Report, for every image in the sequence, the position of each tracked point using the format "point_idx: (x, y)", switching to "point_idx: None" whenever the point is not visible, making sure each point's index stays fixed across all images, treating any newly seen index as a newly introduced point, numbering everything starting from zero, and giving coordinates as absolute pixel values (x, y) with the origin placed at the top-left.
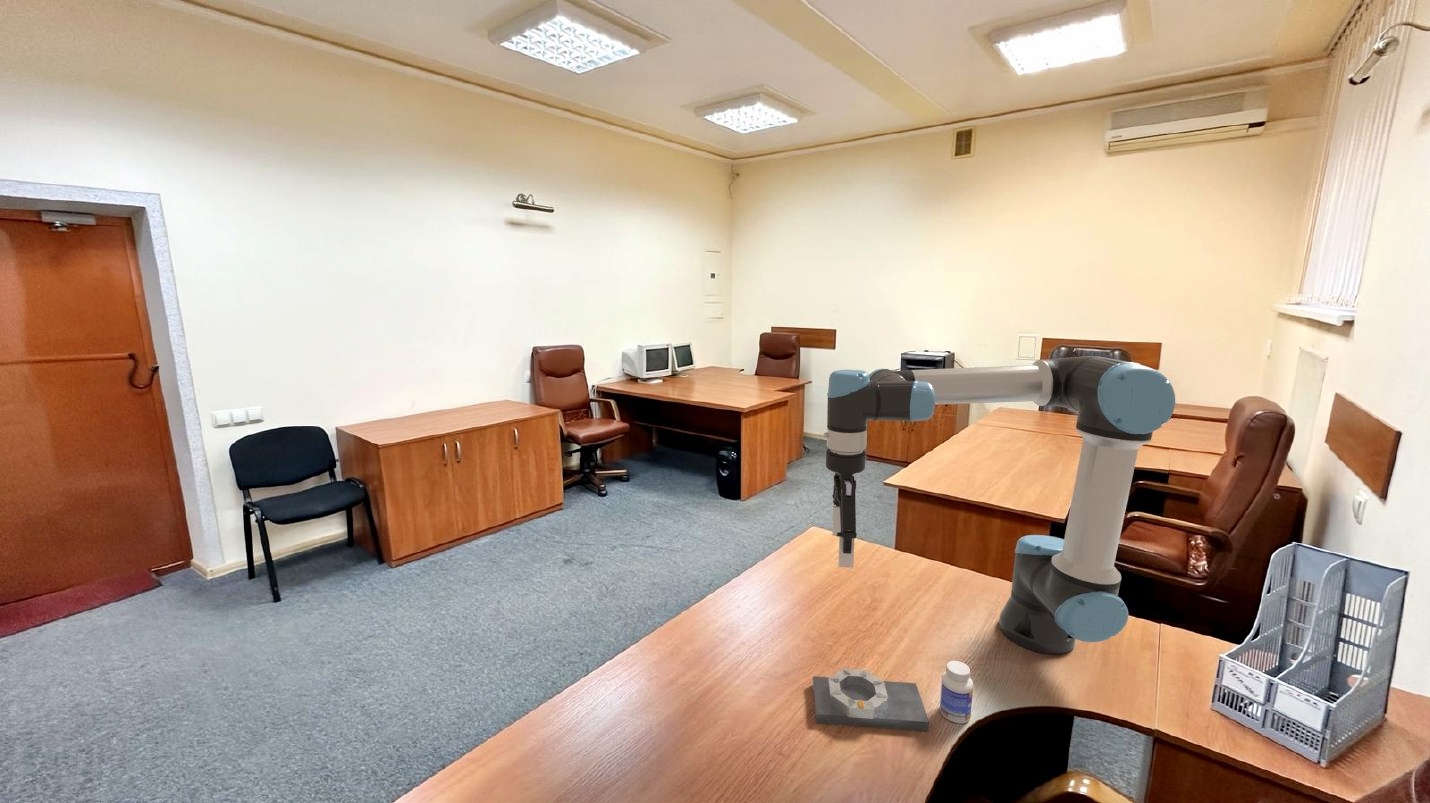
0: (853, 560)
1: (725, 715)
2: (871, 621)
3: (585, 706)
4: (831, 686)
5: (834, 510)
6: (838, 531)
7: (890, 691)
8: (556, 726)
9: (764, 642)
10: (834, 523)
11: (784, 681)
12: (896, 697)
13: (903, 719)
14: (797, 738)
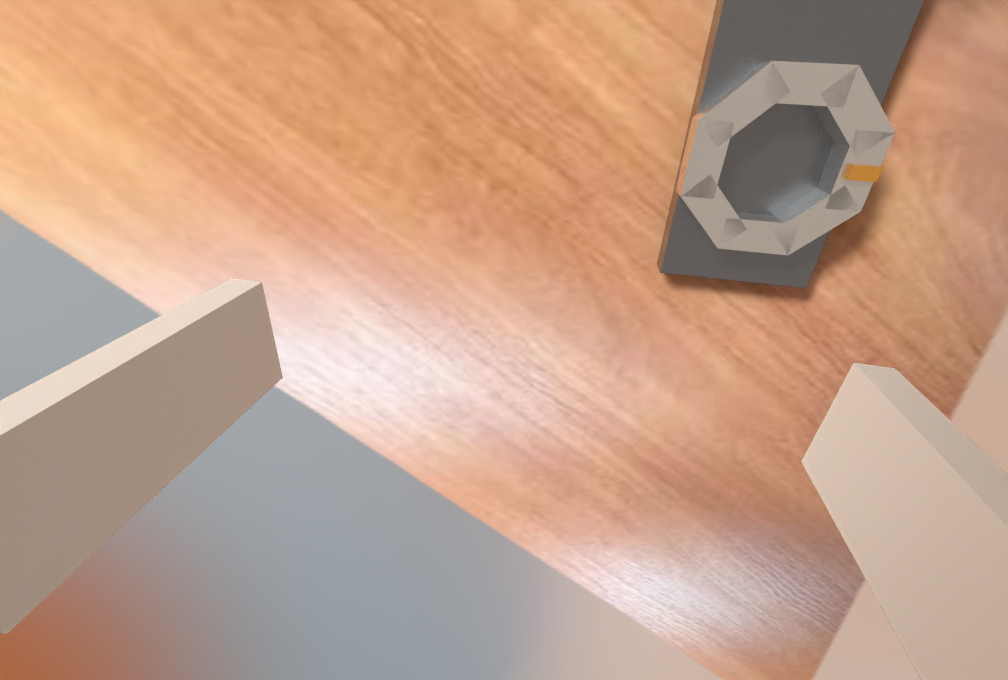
0: (943, 415)
1: (726, 447)
2: (351, 7)
3: (665, 614)
4: (755, 246)
5: (54, 577)
6: (246, 358)
7: (770, 34)
8: (702, 640)
9: (490, 351)
10: (199, 441)
11: (636, 326)
12: (802, 18)
13: (913, 19)
14: (832, 326)
